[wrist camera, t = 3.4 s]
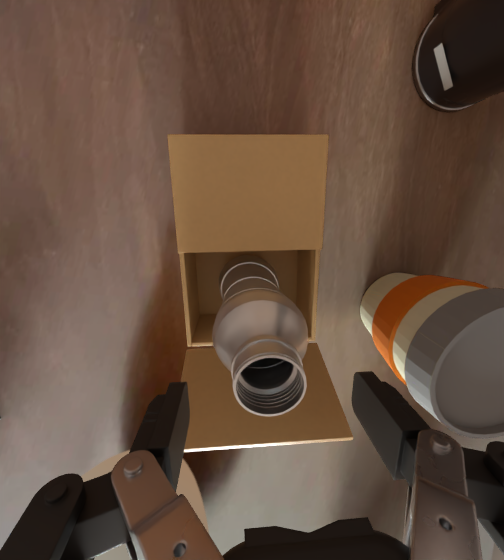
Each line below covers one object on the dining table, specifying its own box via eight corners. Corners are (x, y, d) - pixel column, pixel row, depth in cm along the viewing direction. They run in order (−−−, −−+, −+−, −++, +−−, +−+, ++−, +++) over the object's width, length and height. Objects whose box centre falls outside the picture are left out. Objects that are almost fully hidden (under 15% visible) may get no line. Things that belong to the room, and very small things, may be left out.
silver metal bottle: (231, 242, 31) (230, 305, 12) (284, 264, 32) (360, 354, 13) (211, 291, 33) (181, 418, 13) (262, 310, 34) (301, 453, 15)
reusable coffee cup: (438, 340, 37) (568, 426, 23) (348, 355, 37) (423, 453, 22) (442, 250, 34) (599, 286, 19) (343, 267, 33) (428, 315, 19)
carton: (298, 312, 35) (317, 344, 27) (197, 316, 34) (186, 350, 26) (303, 152, 29) (329, 133, 22) (184, 152, 29) (166, 133, 21)
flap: (316, 342, 27) (316, 345, 27) (186, 348, 26) (187, 351, 26) (353, 437, 19) (352, 440, 19) (167, 450, 18) (168, 453, 18)
